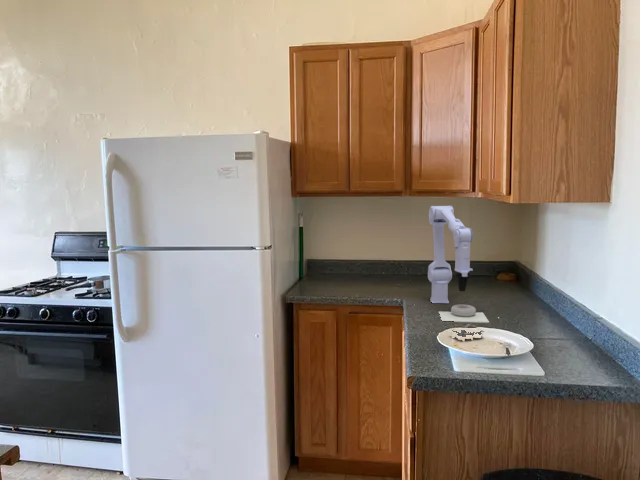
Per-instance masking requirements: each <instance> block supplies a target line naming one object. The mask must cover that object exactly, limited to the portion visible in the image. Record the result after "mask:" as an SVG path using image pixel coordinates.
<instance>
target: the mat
mask: <svg viewBox="0 0 640 480" xmlns="http://www.w3.org/2000/svg"><path fill="white" fill-rule="evenodd" d="M439 314H440V315H439ZM438 315H439V318H440V317H441V318H440V321H441V320H442V321H454V322H453V323H475V324H476V323H477V324H479V323H481V324H489V323H490V321H489V319H488V318H487V316H486V315H485V313H484V312H479V311H478V312H477V311H476V313H475V314H474V315H473V316H468V317H463V316H457V315H454V314H453V313H452V312H451V311H438ZM442 321H441V322H442Z"/></svg>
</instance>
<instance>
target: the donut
mask: <svg viewBox="0 0 640 480" xmlns="http://www.w3.org/2000/svg"><path fill="white" fill-rule="evenodd" d="M450 312H452V313H453V314H454V315H457V316H463V317H468V316H473V315H474V314H475V313H476V312H477V309H476V307H474V306H473V305H470V304H461V303H460V304H454V305H452V306H451V309H450Z"/></svg>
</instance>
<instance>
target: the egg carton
mask: <svg viewBox="0 0 640 480" xmlns="http://www.w3.org/2000/svg"><path fill="white" fill-rule="evenodd" d="M460 328H477V326H476V325H474V324H473V323H472V322H470V323H467V324H465V325H464V326H461V327H460ZM451 330H452V331H453V330H454V329H451ZM480 330H481V329H480ZM453 332H456V333H458V334H457V335H458V336H462V337H466V335H472V336H473V335H474V333H475V332H473V333H471V332H470V333H469V332H468V333H467V332H466V331H465V330H461V333H459V332H457V331H453ZM481 332H482V333H481ZM477 333H478V334H479V335H481V334H482V335H483V333H485V331H484V330H481V331H480V332H476V333H475V334H477Z"/></svg>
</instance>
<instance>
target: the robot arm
mask: <svg viewBox="0 0 640 480" xmlns="http://www.w3.org/2000/svg"><path fill="white" fill-rule="evenodd" d="M454 210H455V209H454V207H453V206H452V205H431V206H429V210H428V223H429V225H431V226H432V236H433V237H432V238H433V239H432V241H433V261H432V262H431V263H430V264H428V267H427V279H428V280H429V282H430V283H431V297H429V300H430V303H431V302H432V303H431V304H450V301H449V299H448V298H449V297H448V295H449V294H448V290H449V289H448V288H449V286H448V285H449V283H450V282H451V280H452V278H453V272H452V268H451V267H452V266H451V264H450V263H448V262H447V261H446V253H445V252H446V251H445V232H444V231H445V229H444V228H445V225H448V226H447V227H448V230H449V231H450V232H451V235H452V237H453V238H452V239H453V245H454V248H455V252H454V253H455V254H454V255H455V257H454V259H455V260H454V261H455V262H454V263H455V265H454V271H455V272H456V273H454V276H455V277H456V280H457V286H458V291H459V292H466V288H467V284H468V281H469V279H470V277H471V274H470V272H473V271H474V270H473V268H471V265H470V264H471V259H470V258H471V243H472V242H473V240H474V233H473V230H472V228H471V227H466V226H465V225H464V223H463V222H462V221H461V220H460V219H459V218H456V217H455V213H454V212H455V211H454Z"/></svg>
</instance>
